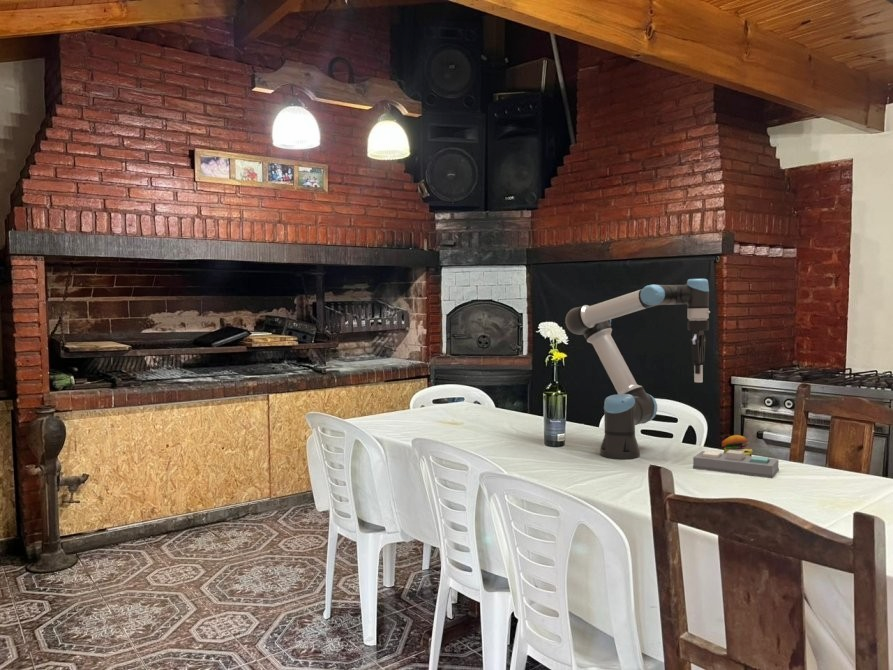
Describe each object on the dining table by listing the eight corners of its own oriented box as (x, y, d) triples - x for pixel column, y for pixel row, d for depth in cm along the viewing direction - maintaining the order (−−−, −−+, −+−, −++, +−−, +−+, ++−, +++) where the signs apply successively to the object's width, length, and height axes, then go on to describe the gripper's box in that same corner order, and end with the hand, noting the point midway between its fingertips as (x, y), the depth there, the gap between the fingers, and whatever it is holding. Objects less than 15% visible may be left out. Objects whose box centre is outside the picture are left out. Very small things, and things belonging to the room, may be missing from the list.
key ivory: (702, 463, 238) (702, 453, 238) (706, 460, 243) (706, 451, 242) (717, 465, 236) (717, 455, 235) (720, 462, 240) (720, 452, 239)
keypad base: (692, 468, 237) (692, 457, 237) (701, 461, 247) (701, 451, 247) (772, 478, 222) (772, 466, 222) (778, 470, 232) (778, 459, 232)
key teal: (750, 468, 229) (750, 458, 229) (753, 465, 233) (753, 456, 233) (766, 470, 226) (766, 460, 226) (769, 467, 230) (769, 457, 230)
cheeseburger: (736, 462, 244) (731, 435, 246) (718, 463, 254) (713, 437, 256) (759, 460, 247) (754, 433, 248) (740, 460, 257) (735, 435, 259)
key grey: (726, 462, 234) (726, 452, 234) (729, 459, 238) (729, 449, 238) (741, 463, 231) (741, 454, 231) (744, 461, 235) (744, 451, 235)
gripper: (703, 320, 241) (704, 384, 242) (713, 319, 252) (713, 380, 253) (682, 320, 246) (683, 383, 247) (692, 319, 256) (693, 380, 257)
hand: (698, 382), depth 250 cm, fingers closed
